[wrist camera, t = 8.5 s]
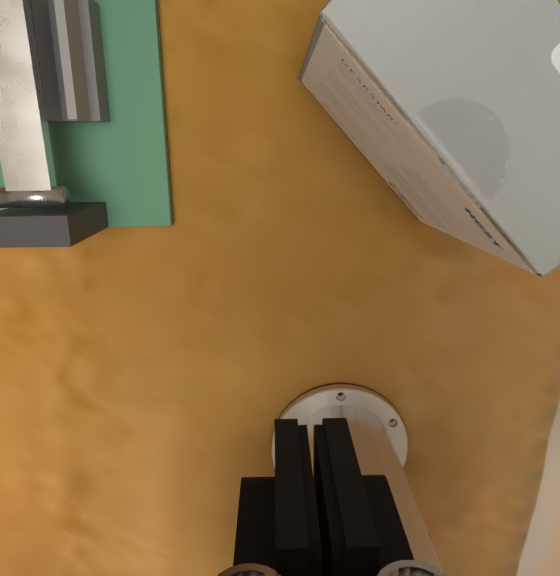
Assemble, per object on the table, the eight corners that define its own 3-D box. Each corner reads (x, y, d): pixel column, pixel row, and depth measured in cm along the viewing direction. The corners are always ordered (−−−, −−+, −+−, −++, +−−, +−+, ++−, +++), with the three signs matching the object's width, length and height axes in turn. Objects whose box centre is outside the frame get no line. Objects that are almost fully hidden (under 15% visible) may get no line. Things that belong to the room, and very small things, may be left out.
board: (173, 223, 42) (147, 245, 34) (-22, 226, 42) (-100, 249, 33) (149, -120, 36) (109, -205, 27) (-82, -118, 36) (-199, -203, 27)
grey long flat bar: (70, 205, 36) (63, 208, 34) (7, 206, 36) (-3, 209, 34) (26, -107, 30) (15, -118, 29) (-49, -107, 30) (-64, -117, 29)
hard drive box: (493, 158, 41) (685, 172, 22) (420, 223, 43) (540, 290, 24) (368, 1, 38) (465, -141, 19) (292, 77, 39) (312, 16, 20)
